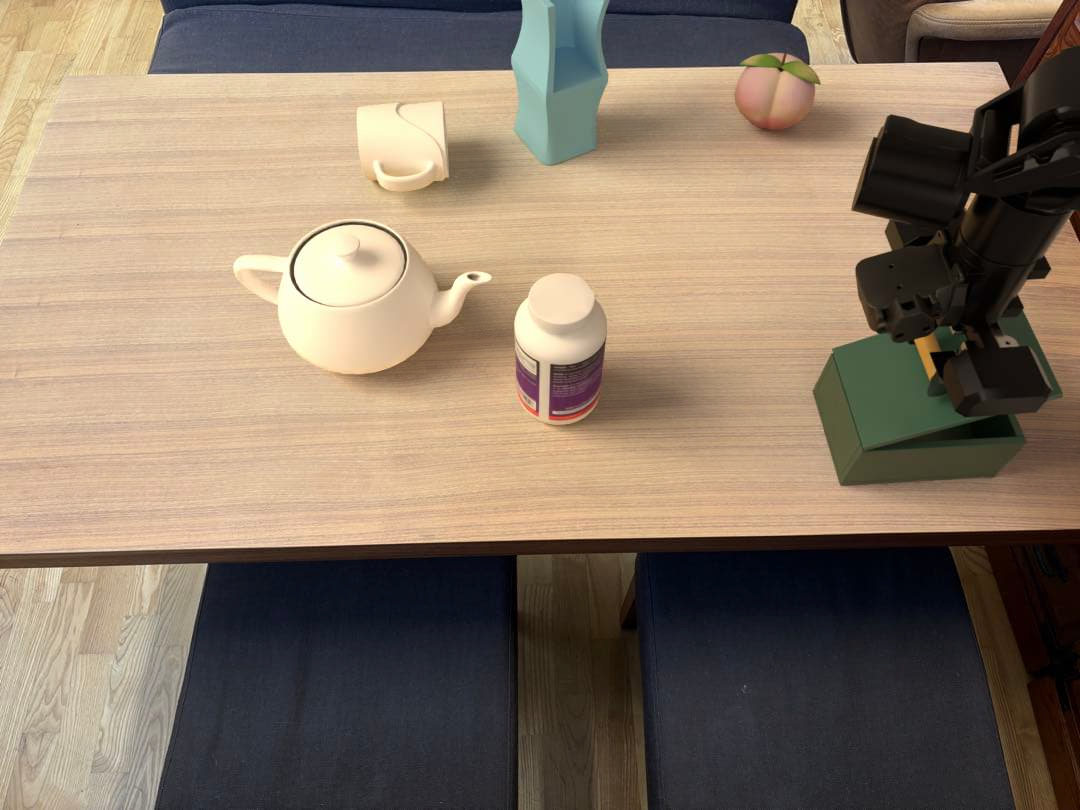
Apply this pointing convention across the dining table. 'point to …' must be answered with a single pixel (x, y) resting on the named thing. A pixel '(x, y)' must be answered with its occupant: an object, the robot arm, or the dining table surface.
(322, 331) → the teapot
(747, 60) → the decorative fruit
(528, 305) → the pill bottle
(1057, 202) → the robot arm
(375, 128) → the mug
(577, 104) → the vase
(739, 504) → the dining table surface
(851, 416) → the tea tin
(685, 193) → the dining table surface
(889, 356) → the tin lid
